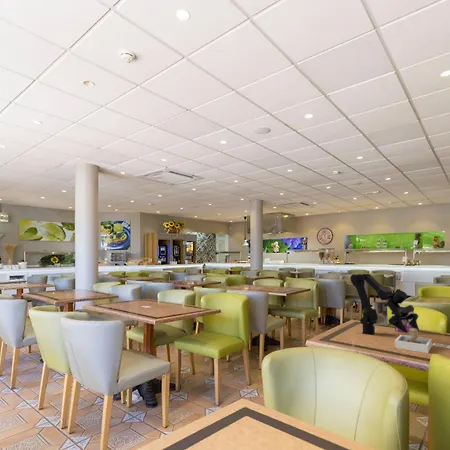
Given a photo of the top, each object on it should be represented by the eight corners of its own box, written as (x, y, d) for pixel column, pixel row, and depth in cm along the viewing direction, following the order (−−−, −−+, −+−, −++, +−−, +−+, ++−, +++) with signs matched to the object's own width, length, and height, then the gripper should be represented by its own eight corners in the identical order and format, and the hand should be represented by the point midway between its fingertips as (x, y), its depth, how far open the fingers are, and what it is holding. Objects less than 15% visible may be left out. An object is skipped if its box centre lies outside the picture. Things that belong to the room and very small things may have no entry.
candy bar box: (394, 331, 231) (394, 306, 232) (395, 329, 235) (395, 305, 236) (414, 333, 225) (413, 307, 226) (414, 331, 229) (413, 306, 230)
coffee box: (386, 323, 253) (386, 301, 254) (387, 325, 247) (387, 302, 248) (373, 323, 256) (372, 300, 257) (374, 324, 250) (373, 302, 250)
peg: (411, 348, 193) (410, 329, 194) (408, 345, 198) (407, 327, 198) (419, 348, 193) (419, 329, 193) (416, 345, 197) (415, 328, 198)
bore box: (395, 347, 194) (394, 340, 194) (400, 341, 206) (400, 334, 207) (428, 353, 184) (427, 345, 184) (431, 346, 197) (431, 338, 197)
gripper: (392, 301, 198) (409, 325, 187) (415, 299, 205) (433, 322, 195) (381, 312, 205) (397, 336, 194) (403, 310, 212) (420, 333, 202)
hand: (412, 331), depth 196 cm, fingers open, 9 cm apart
